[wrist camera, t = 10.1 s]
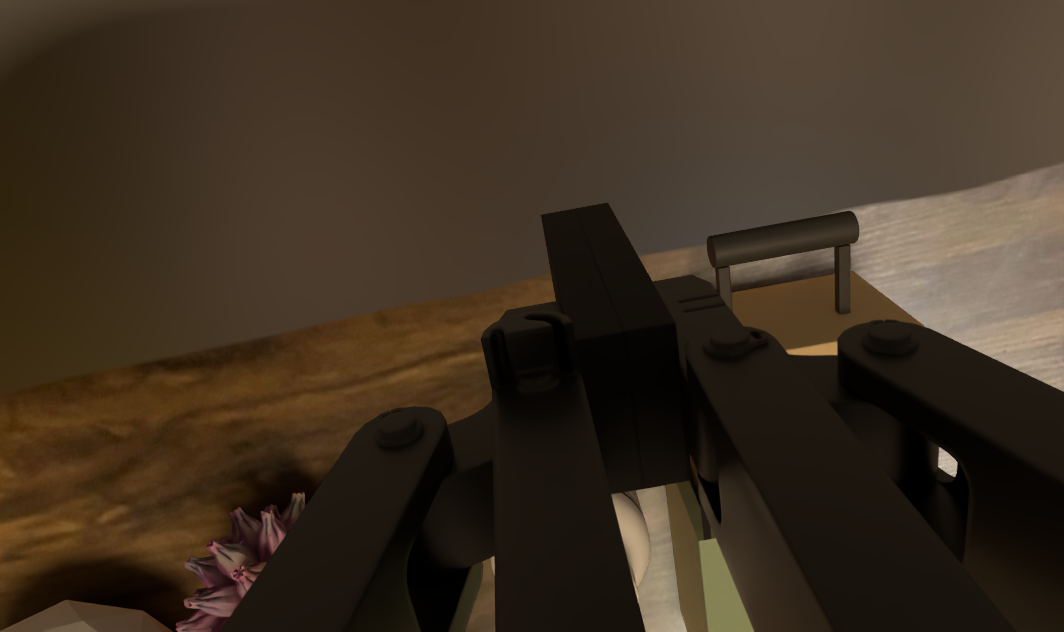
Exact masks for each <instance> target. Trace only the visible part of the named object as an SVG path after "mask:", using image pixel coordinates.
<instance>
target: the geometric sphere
mask: <svg viewBox="0 0 1064 632" xmlns="http://www.w3.org/2000/svg"><path fill="white" fill-rule="evenodd" d="M0 632H173V631H171V630H170V629H168V628H167V627H166V626H164V625H163V624H161V623H160V622H158V621H157V620H156V619H154V618H153V617H151V616H150V615H148V614H147V613H146V612H144V611H141V610H134V609H127V608H120V607H113V606H106V605H99V604H92V603H85V602H78V601H71V600H64V601H62V602H60V603H58V604H56V605H54V606H52V607H50V608H48V609H45V610H43V611H41V612H39V613H37V614H35V615H33V616H31V617H29V618H27V619H24V620H22V621H20V622H18V623H16V624H14V625H12V626H10V627H8V628H5V629H3V630H1V631H0Z"/></svg>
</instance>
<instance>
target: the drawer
mask: <svg viewBox="0 0 1064 632" xmlns="http://www.w3.org/2000/svg"><path fill="white" fill-rule="evenodd" d="M858 237H859V225H858V221H857V218H856V216H855V214H854V213H853V212H851V211H846V212H840V213H835V214H829V215H823V216H818V217H812V218H807V219H801V220H796V221H790V222H786V223H780V224H774V225H768V226H763V227H758V228H752V229H747V230H741V231H736V232H730V233H724V234H719V235H713V236H709V237H708V239H707V252H708V257H709V261H710V263H711V265H712V267H713V268H715V272H716V285H717V292H718V294H719V296H721V297H722V299H723V300H724V301H725V303H726V306H727V305H728V307H729V308H730V309H731V311H732V312H733V313H734V315H735V316H736V317H737V318H738V320H739V321H740V322H741V324H742V325H743V326H747V327H754V328H757V329H760V330H764V331H766V332H768V333H769V334H771V335H772V336H773V337H775V338H776V339H777V340H778V342H779V343H780V344H781V345H782V347H783V348H784V349H785V350H786V351H787V353H788V354H792V355H837V338H838V337H839V336H840V335H841V333H842V332H843V331H844V330H846V329H848V328H851V327H853V326H855V325H858V324H863V323H868V322H870V321H873V320H883V321H885V319H889V320H898V321H900V322H907V323H914V324H917V325H920V326H923V327H924V325H922V324H921V323H920V322H919V321H917V320H916V319H915V318H913V317H912V316H911V315H909V314H908V313H907V312H905V311H904V310H903V309H902V308H900V307H899V306H898V305H896V304H895V303H894V302H892V301H891V300H890V299H889V298H887V297H886V296H885V295H883V294H882V293H881V292H879V291H878V290H877V289H875V288H874V287H873V286H872V285H870V284H869V283H868V282H866V281H865V280H864V279H862V278H861V277H860V276H858V275H857V274H856V273H855V272H853V271H850V245H849V244H852V243H855V242H857V240H858ZM830 247H834V258H835V274H832V275H827V276H821V277H816V278H810V279H805V280H799V281H793V282H788V283H782V284H777V285H771V286H766V287H760V288H755V289H749V290H743V291H738V292H732V293H731V280H730V267H729V266H730V265H736V264H742V263H747V262H753V261H758V260H764V259H769V258H775V257H780V256H786V255H791V254H797V253H802V252H808V251H814V250H819V249H825V248H830ZM689 455H690V454H689ZM690 464H691V474H692V480H691V481H690V483H691V486H692V488H693V490H694V493H695V495H696V498H697V500H698V503H699V505H700V496H699V486H698V476H697V470H696V467H695V465H694V463H693V460H692V458H691V456H690ZM700 507H701V506H700ZM711 529H712V528H711Z"/></svg>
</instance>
